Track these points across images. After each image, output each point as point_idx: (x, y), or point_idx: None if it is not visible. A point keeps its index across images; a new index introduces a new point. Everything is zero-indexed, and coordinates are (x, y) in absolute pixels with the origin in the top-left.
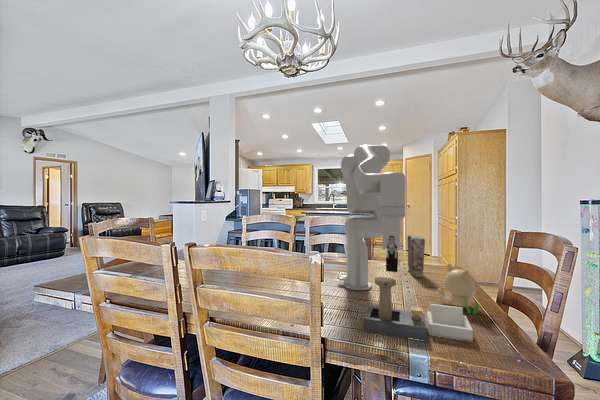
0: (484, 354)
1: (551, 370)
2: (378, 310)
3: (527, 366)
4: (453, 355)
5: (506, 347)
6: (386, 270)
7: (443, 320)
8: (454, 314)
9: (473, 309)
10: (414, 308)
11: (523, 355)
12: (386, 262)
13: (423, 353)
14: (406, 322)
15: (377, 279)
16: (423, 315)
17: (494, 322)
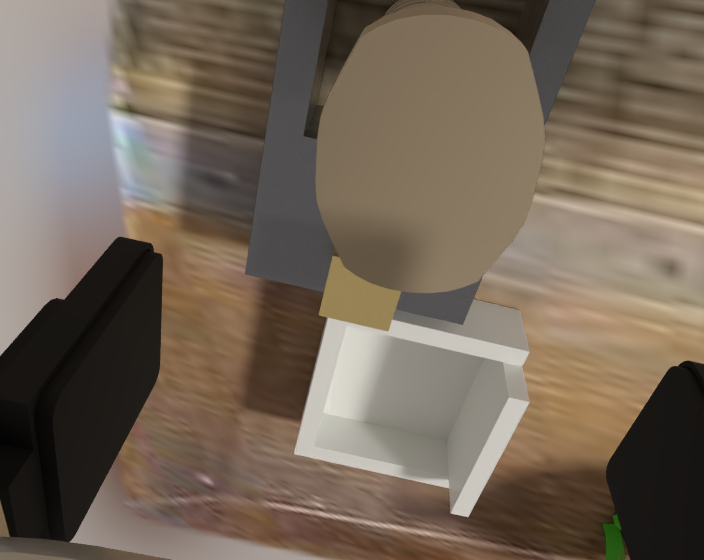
0: (215, 408)
1: (171, 520)
2: (544, 5)
3: (173, 482)
4: (169, 303)
5: (291, 490)
6: (121, 241)
7: (475, 386)
8: (461, 455)
9: (619, 545)
10: (362, 283)
11: (244, 505)
12: (44, 328)
13: (143, 184)
14: (299, 180)
15: (419, 59)
16: (427, 309)
17: (510, 549)
